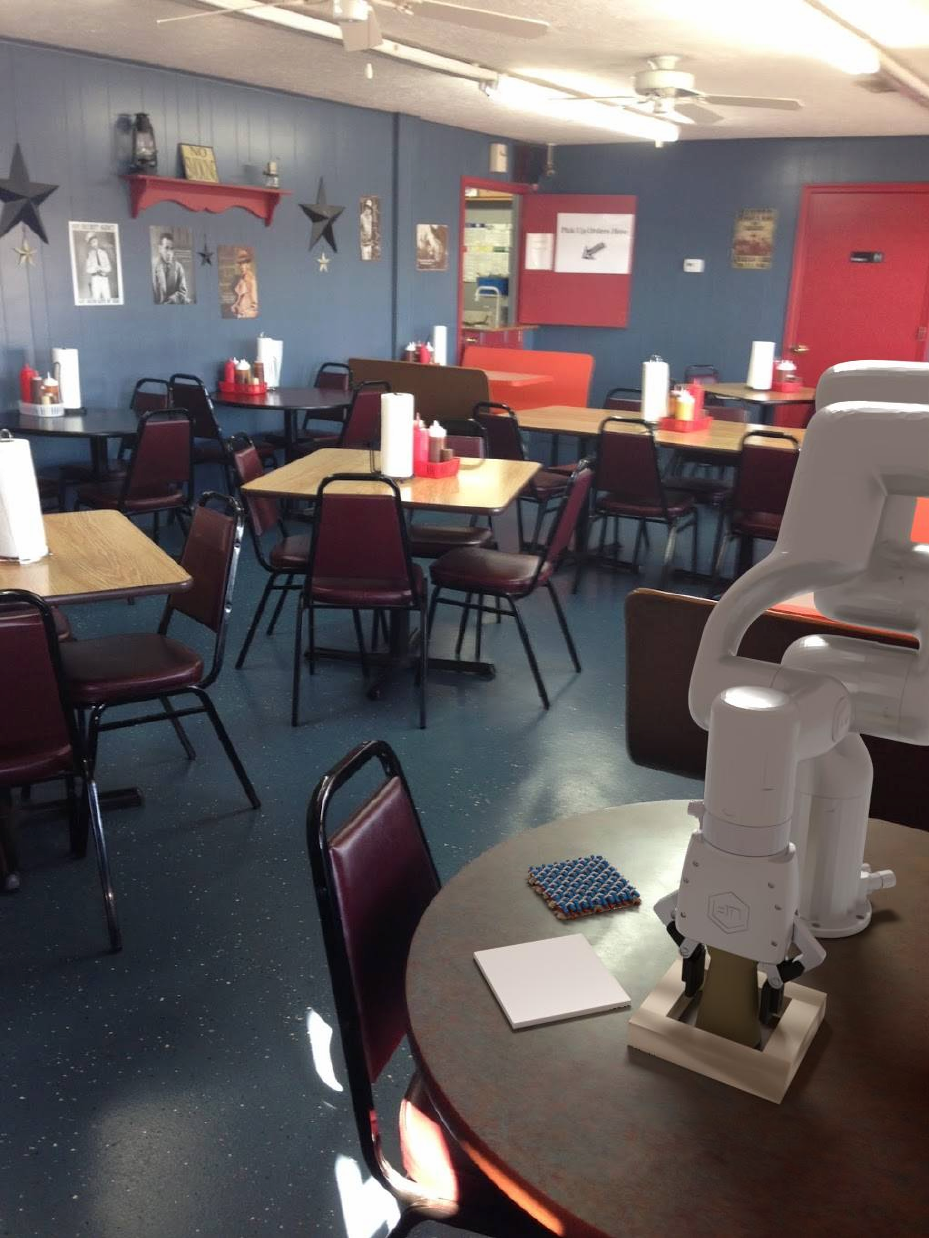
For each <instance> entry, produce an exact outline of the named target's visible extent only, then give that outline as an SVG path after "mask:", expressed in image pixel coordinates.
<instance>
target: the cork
mask: <svg viewBox="0 0 929 1238" xmlns="http://www.w3.org/2000/svg"><path fill="white" fill-rule="evenodd" d="M705 946H706V952H707V954H708V955H709V956H710V957H711V959H710V963H709V967H708V972H707V976H706V980H705V984H704V989H703V991H702V993H701V998H700V1000H699V1002H700V1003H699V1005H698V1006H699V1007H698V1009H697V1014H696V1019H695V1023H694V1027H695V1028H698V1029H701V1030H703V1031H706V1032H709V1033H712V1034H714V1035H717V1036H720V1037H722V1038H725V1039H728V1040H731V1041H733V1042H736V1043H739V1044H741V1045H744V1046H747V1047H750V1048H752V1049H755V1048H756V1047H757V1046H758V1044H760V1042H761V1038H762V1025H761V1024H762V1023H760V1021H759V1012H760V1005H759V987H758V971H759V970H758V965H759V963H760V962H756V961H753V960H750V959H747V958H744V957H740V956H737V955H734V954H731V953H729V952H725V951H722V950H719V949H716V948H713V947H710V946H707V945H705ZM760 964H761V963H760Z"/></svg>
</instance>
